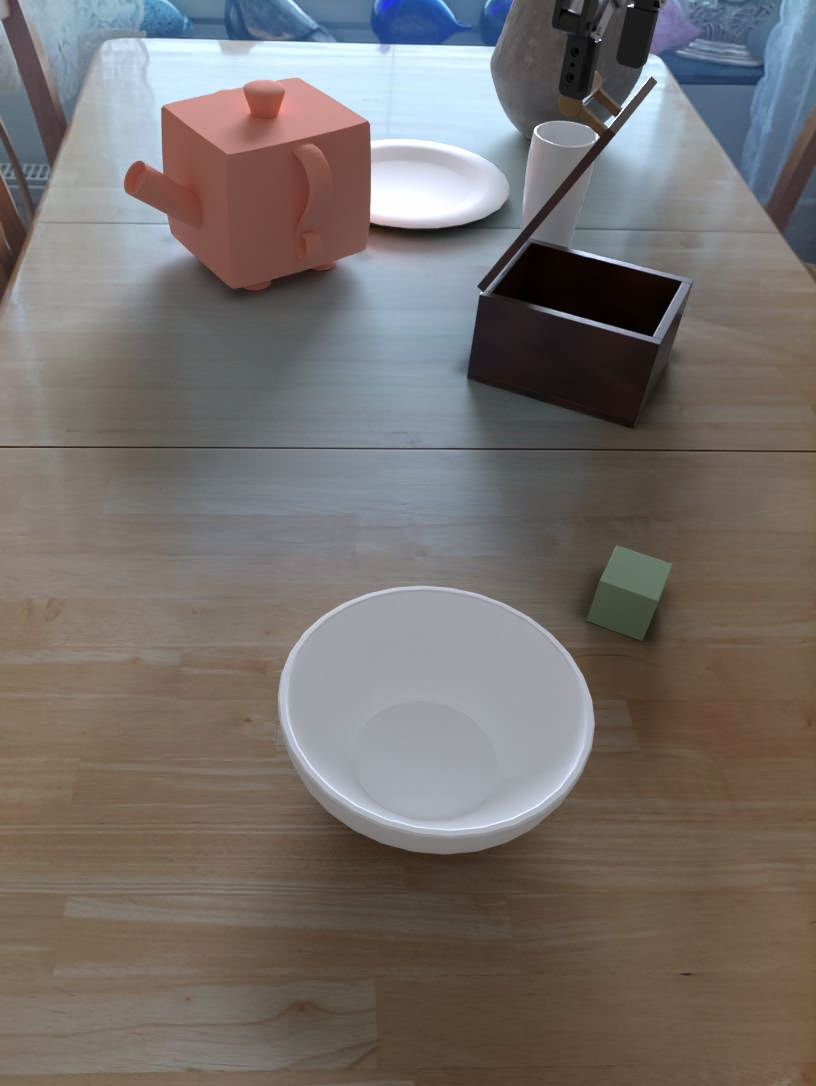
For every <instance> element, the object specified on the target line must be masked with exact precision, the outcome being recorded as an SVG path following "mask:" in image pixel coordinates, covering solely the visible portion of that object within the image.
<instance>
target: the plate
mask: <svg viewBox="0 0 816 1086" xmlns="http://www.w3.org/2000/svg"><path fill="white" fill-rule="evenodd" d="M508 181H509V180H508V178H507V177H506V174H504V173H503V171H501V170H500V168H498V166H496V165H495V164H494V163H492V162H491V161H489V160H487V159H485V158H484V157H482V156H480V155H479V154H477V153H473V152H471V151H469V150H466V149H463V148H460V147H458V146H453V145H449V144H446V143H445V144H444V143H440V142H436V141H429V140H418V139H396V138H395V139H392V138H391V139H390V138H389V139H387V138H386V139H379V140H371V209H370V225H371V226H375V227H379V228H387V229H394V230H401V231H402V230H403V231H439V230H440V231H441V230H447V229H453V228H460V227H464V226H468V225H470V224H474V223H478V222H481V221H484V220H485V219H486V218H488V217H490V216H492V215H493V214H496V213H497V212H499V211H500V210H501V208H503V206H504V205H505V204H506V203H507V202H508V200H509V197H510V196H509V195H510V190H511V186H510V183H509V182H508Z"/></svg>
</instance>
